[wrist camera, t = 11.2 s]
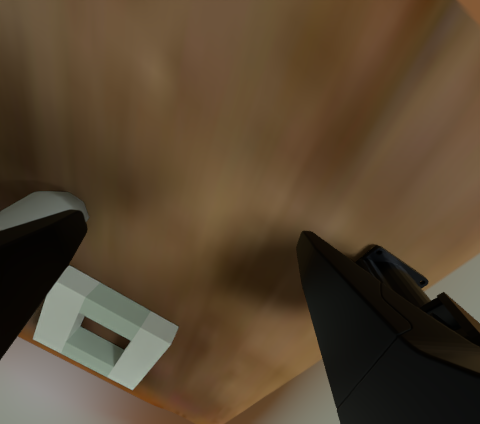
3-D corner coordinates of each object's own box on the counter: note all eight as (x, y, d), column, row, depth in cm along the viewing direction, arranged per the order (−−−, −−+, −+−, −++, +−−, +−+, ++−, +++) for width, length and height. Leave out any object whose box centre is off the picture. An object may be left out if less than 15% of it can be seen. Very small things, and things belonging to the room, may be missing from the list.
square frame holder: (178, 326, 30) (171, 344, 28) (141, 372, 36) (132, 390, 33) (69, 265, 28) (51, 278, 26) (49, 323, 34) (32, 339, 31)
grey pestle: (72, 239, 26) (-93, 342, 14) (36, 198, 24) (-184, 276, 13) (106, 221, 24) (-50, 321, 13) (70, 175, 23) (-149, 241, 11)
